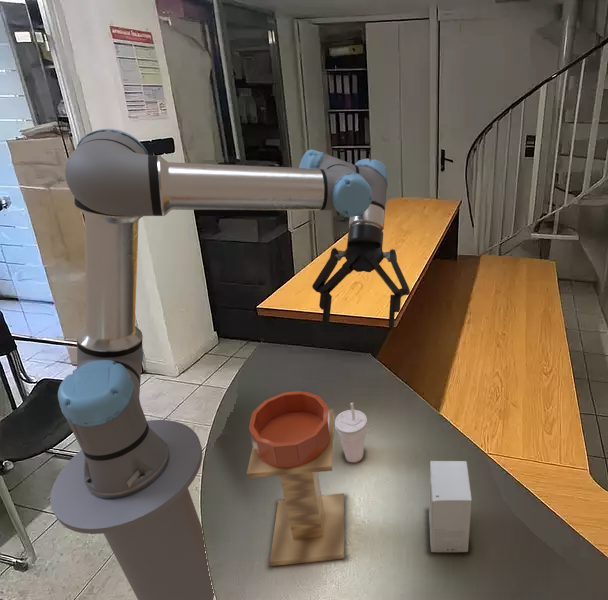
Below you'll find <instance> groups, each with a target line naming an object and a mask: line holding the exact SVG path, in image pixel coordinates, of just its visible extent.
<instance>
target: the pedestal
mask: <svg viewBox="0 0 608 600" xmlns="http://www.w3.org/2000/svg"><path fill="white" fill-rule="evenodd" d="M328 409H329V416H330V424H331V426H330V431H331V437H330V441H329V444H328V446H327V448H326V449H325V450H324V452H323V453H322V454H321V455H320V456H318V457H317V458H316V459H314V460H313V461H311V462H309V463H307V464H304V465H302V466H298V467H293V468H277V467H273V466H270V465H268V464H266V463H264V462H263V461H262V460H261V459H260V458H259V457H258V456H257V453H256V450H255V448H254V447H253V446H252V448H251V453H250V456H249V461H248V465H247V470H246V476H247V479H257V478H267V477H276V476H279V478H280V483H281V488H282V493H283V498H281V499H278V501H277V507H276V514H275V522H274V528H273V535H272V542H271V548H270V555H269V556H270V557H269V565H270V567H276V566H277V567H278V566H287V565H294V564H296V565H297V564H304V563H313V562H314V563H315V562H323V561H332V560H343V559H345V493H334V494H322V490H321V489H322V488H321V484H320V483H321V482H320V475H319V473H321V472H332V471H333V460H334V433H335V431H334V429H335V409H334V408H328Z"/></svg>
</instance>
